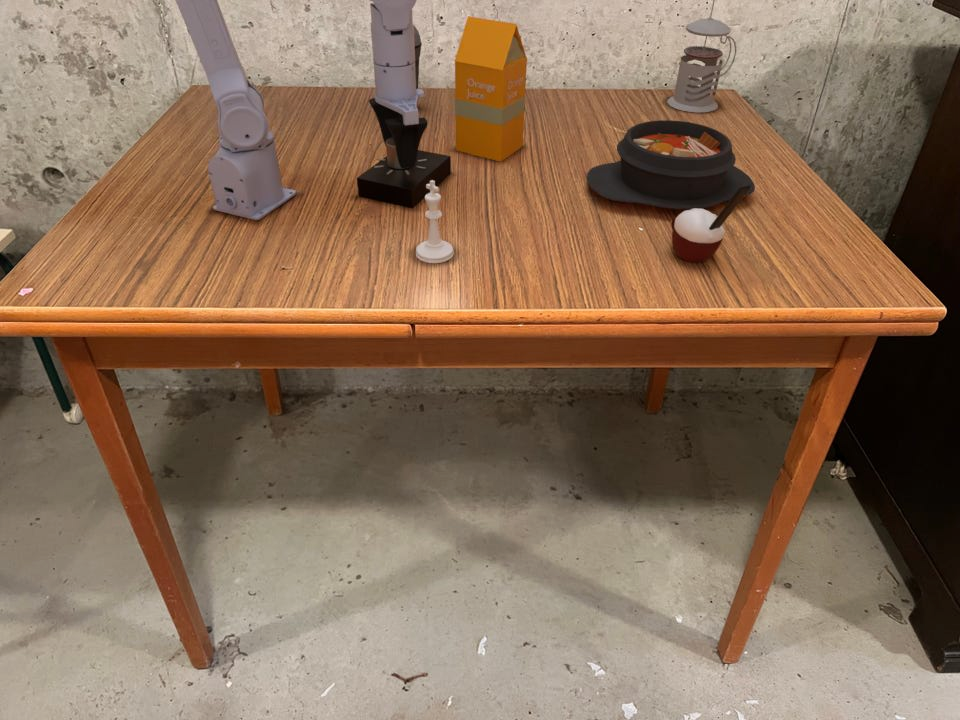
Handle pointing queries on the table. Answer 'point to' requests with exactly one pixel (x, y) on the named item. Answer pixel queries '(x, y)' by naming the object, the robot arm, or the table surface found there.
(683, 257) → the rice bowl
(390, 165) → the knob
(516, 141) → the orange juice
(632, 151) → the casserole
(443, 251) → the chess piece
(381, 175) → the hob panel
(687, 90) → the french press
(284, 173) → the table surface
